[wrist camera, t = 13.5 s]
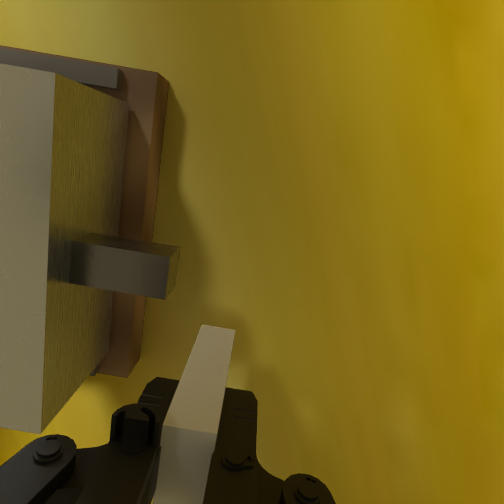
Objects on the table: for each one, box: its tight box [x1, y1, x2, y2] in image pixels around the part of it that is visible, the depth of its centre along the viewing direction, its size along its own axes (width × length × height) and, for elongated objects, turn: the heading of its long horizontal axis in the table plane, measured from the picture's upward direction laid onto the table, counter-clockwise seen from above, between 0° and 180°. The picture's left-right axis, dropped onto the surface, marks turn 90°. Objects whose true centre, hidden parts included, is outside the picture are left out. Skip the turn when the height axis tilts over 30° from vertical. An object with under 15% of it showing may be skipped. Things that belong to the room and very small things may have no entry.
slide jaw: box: [0, 63, 180, 434], centre depth 15 cm, size 12×6×6 cm, turn 171°
